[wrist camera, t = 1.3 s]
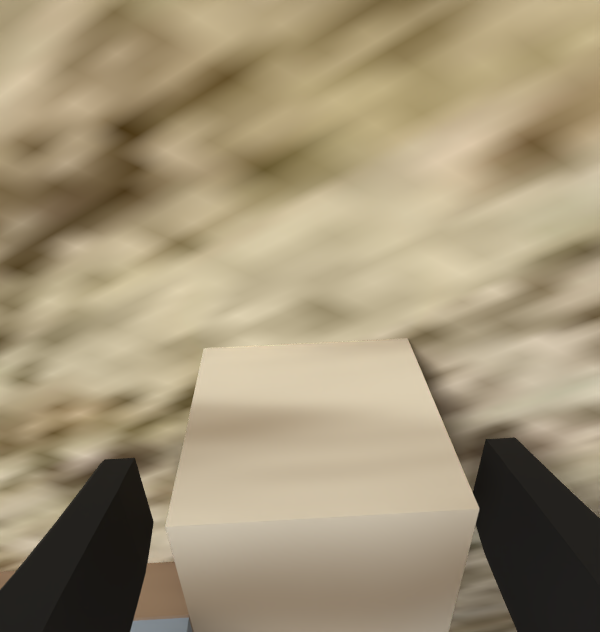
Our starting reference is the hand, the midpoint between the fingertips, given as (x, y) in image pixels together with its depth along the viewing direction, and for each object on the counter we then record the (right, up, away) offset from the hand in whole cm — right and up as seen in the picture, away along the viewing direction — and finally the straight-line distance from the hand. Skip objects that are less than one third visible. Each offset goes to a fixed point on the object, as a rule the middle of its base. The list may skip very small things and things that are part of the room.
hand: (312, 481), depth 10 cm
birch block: (0, +1, +2) cm, 2 cm away
